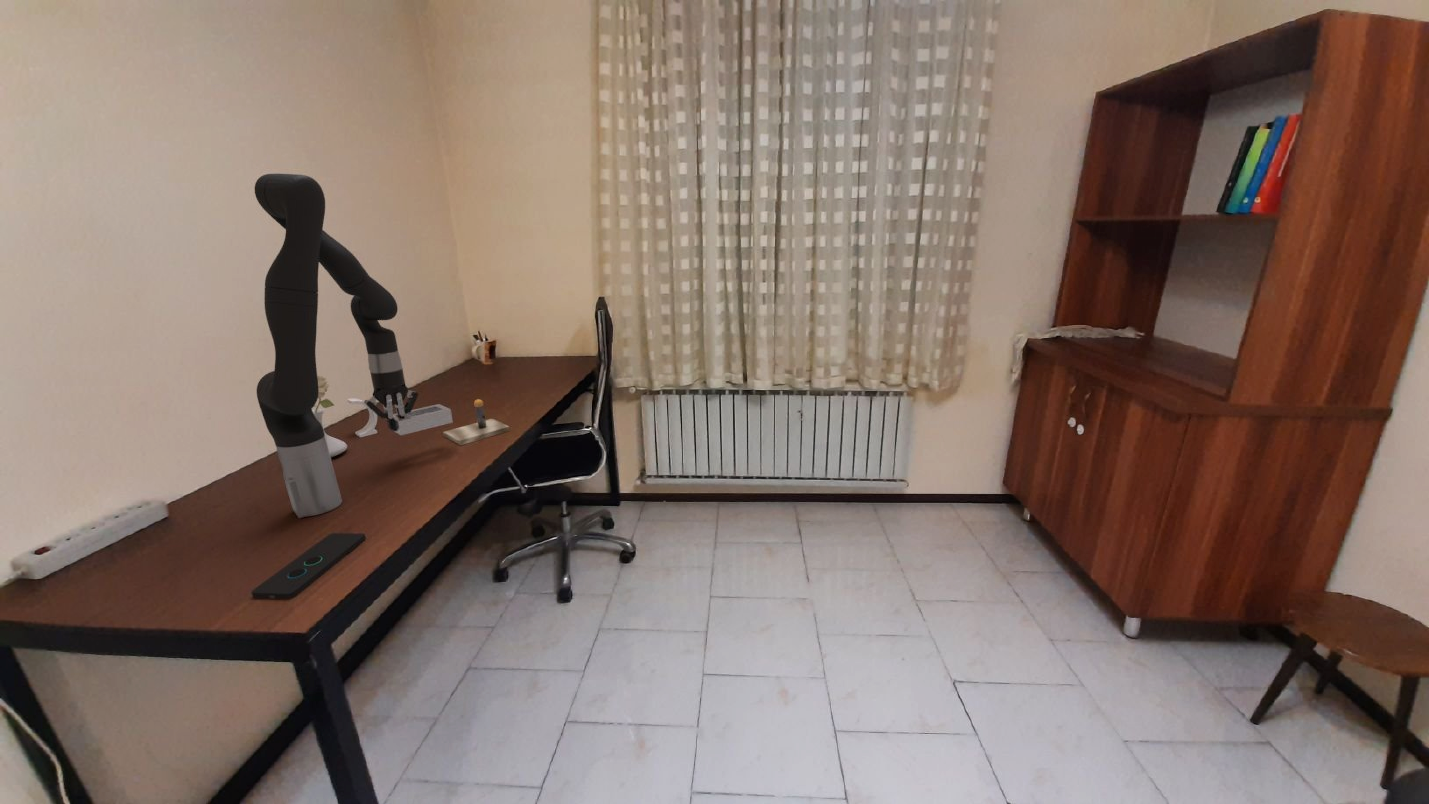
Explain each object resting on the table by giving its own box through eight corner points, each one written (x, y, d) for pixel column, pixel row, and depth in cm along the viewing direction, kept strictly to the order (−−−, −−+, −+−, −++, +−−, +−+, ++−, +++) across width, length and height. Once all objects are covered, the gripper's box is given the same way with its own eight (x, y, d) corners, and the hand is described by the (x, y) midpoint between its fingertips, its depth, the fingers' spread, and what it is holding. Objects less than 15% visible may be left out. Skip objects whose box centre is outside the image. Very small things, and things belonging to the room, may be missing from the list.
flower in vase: (292, 462, 158) (268, 378, 151) (327, 447, 169) (306, 367, 161) (328, 465, 155) (306, 379, 148) (362, 449, 166) (342, 369, 158)
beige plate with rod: (460, 445, 167) (453, 411, 164) (444, 436, 175) (437, 403, 171) (509, 430, 178) (504, 398, 175) (492, 422, 186) (487, 391, 182)
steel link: (400, 435, 150) (398, 421, 148) (390, 429, 155) (387, 415, 154) (452, 422, 159) (450, 409, 158) (441, 416, 165) (439, 404, 163)
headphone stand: (355, 434, 179) (346, 399, 175) (376, 429, 183) (368, 394, 180) (360, 437, 176) (351, 401, 172) (381, 432, 180) (373, 397, 177)
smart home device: (248, 592, 99) (330, 532, 118) (250, 600, 99) (332, 539, 118) (291, 593, 98) (366, 533, 117) (294, 601, 99) (368, 540, 118)
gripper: (362, 375, 140) (375, 439, 145) (418, 365, 150) (429, 426, 155) (352, 371, 145) (365, 433, 150) (408, 362, 155) (418, 420, 160)
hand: (398, 429), depth 153 cm, fingers closed on steel link, 1 cm apart
